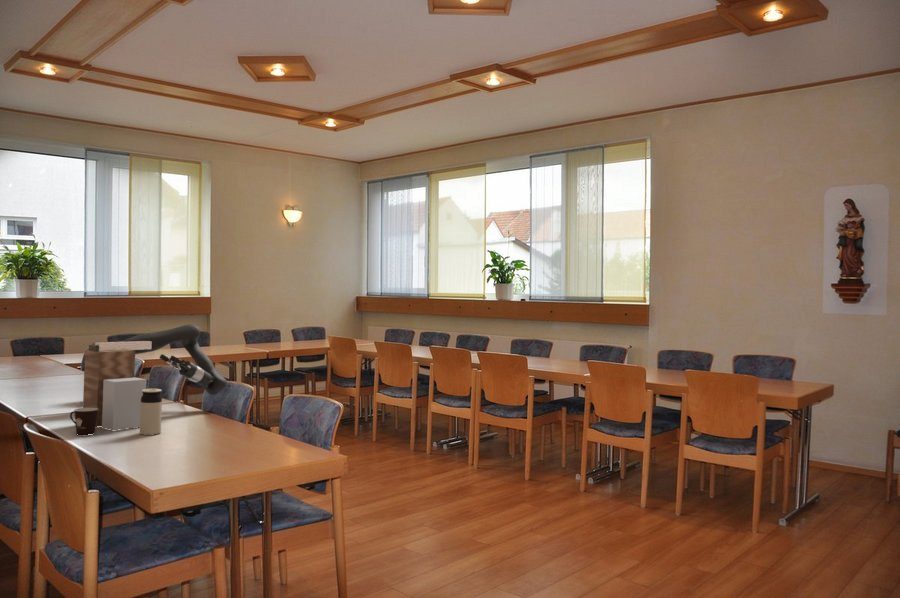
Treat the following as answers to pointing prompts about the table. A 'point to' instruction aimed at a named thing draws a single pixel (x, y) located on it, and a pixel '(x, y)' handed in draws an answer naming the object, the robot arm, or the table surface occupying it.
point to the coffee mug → (85, 420)
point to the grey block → (122, 402)
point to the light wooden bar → (124, 345)
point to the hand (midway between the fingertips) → (165, 356)
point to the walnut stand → (104, 374)
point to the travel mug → (150, 411)
